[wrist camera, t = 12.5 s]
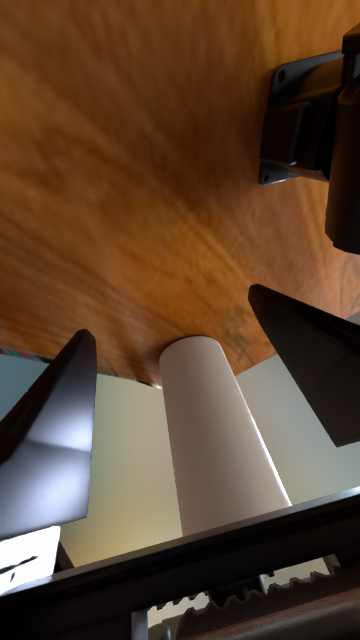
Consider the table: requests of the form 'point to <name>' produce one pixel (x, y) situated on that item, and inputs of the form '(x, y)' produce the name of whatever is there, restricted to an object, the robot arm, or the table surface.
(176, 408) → the cylinder vase
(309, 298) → the table surface
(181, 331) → the table surface
